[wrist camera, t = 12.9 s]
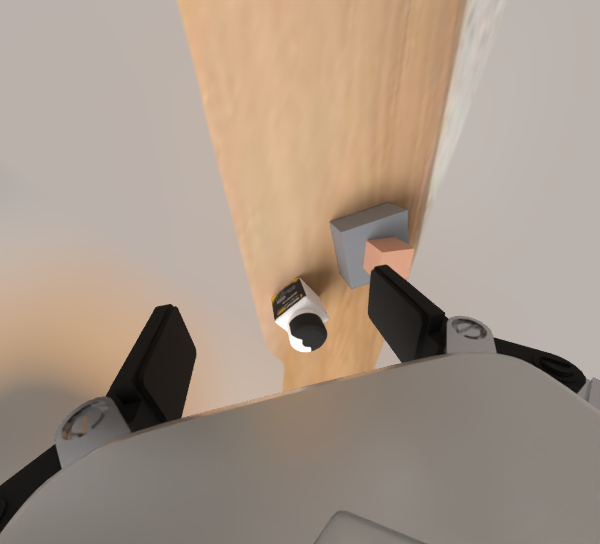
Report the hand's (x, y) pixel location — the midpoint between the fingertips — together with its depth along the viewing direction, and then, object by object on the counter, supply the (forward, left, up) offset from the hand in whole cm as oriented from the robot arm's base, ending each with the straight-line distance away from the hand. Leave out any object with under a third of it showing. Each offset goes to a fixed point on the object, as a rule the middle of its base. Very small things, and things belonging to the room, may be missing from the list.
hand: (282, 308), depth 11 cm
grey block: (+10, +18, -29) cm, 35 cm away
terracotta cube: (+10, +18, -23) cm, 31 cm away
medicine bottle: (+20, +4, -28) cm, 35 cm away
